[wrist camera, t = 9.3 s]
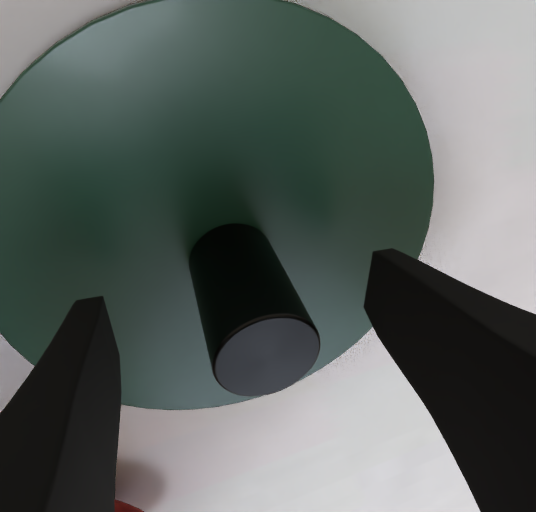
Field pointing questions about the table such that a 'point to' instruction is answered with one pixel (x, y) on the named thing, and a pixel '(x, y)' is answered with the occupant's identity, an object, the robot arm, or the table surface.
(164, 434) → the table surface
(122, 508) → the onion
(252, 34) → the lid
